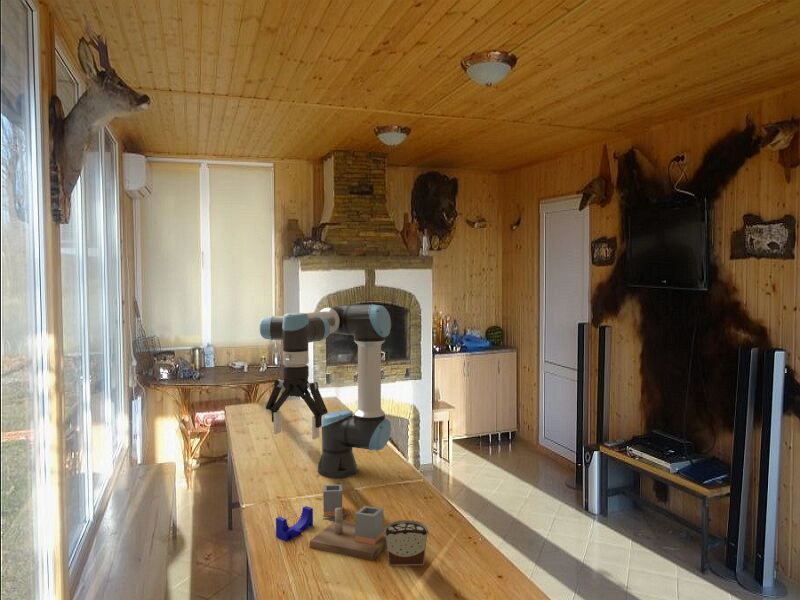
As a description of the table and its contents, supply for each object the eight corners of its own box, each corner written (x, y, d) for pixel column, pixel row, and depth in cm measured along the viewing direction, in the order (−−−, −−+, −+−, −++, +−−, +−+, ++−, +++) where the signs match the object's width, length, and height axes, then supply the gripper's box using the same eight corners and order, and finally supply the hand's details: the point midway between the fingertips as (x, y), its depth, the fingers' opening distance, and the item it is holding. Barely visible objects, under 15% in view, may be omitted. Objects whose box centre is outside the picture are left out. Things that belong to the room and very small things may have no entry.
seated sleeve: (364, 532, 176) (364, 505, 175) (383, 535, 173) (383, 508, 173) (355, 540, 170) (355, 513, 170) (374, 544, 168) (374, 516, 167)
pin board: (337, 525, 185) (336, 497, 185) (396, 536, 177) (396, 507, 177) (309, 547, 170) (309, 516, 170) (373, 560, 162) (373, 528, 162)
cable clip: (286, 542, 174) (285, 522, 174) (276, 538, 177) (275, 518, 177) (316, 528, 183) (316, 509, 183) (306, 524, 186) (306, 505, 186)
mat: (326, 504, 202) (326, 502, 202) (357, 509, 198) (357, 508, 198) (307, 517, 191) (307, 516, 191) (340, 523, 187) (340, 522, 187)
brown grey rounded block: (427, 554, 166) (427, 518, 166) (429, 565, 160) (429, 528, 160) (383, 554, 166) (383, 519, 165) (383, 565, 160) (383, 529, 159)
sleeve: (323, 508, 197) (323, 485, 197) (341, 508, 198) (341, 484, 198) (323, 516, 191) (323, 491, 191) (342, 515, 192) (342, 490, 192)
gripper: (253, 364, 179) (254, 434, 180) (325, 369, 169) (326, 443, 170) (268, 360, 186) (269, 428, 187) (338, 365, 176) (339, 437, 177)
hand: (296, 435), depth 179 cm, fingers open, 13 cm apart
